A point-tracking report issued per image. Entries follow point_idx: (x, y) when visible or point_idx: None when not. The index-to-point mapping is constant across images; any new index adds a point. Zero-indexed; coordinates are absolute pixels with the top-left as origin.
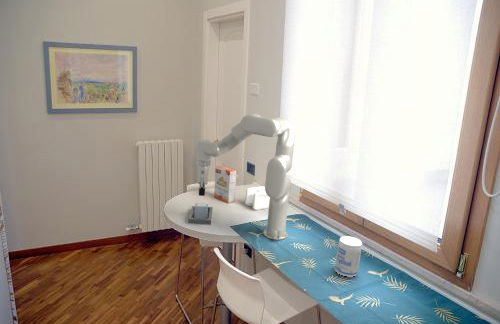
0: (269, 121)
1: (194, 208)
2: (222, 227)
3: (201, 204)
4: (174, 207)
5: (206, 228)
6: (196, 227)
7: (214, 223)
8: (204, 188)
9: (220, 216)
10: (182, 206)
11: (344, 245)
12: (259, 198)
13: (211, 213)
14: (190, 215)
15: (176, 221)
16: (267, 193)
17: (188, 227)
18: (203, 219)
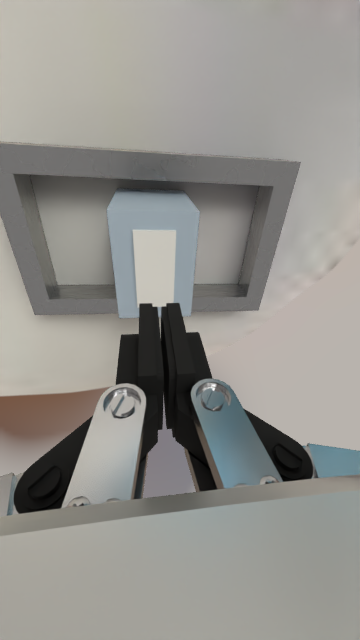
0: None
1: (51, 292)
2: (356, 44)
3: (146, 274)
4: (43, 376)
5: (334, 191)
6: (305, 252)
7: (266, 126)
8: (200, 386)
9: (110, 48)
10: (8, 348)
11: None
12: None
13: (157, 157)
14: (205, 305)
15: (220, 343)
16: None
17: (296, 289)
18: (277, 223)
